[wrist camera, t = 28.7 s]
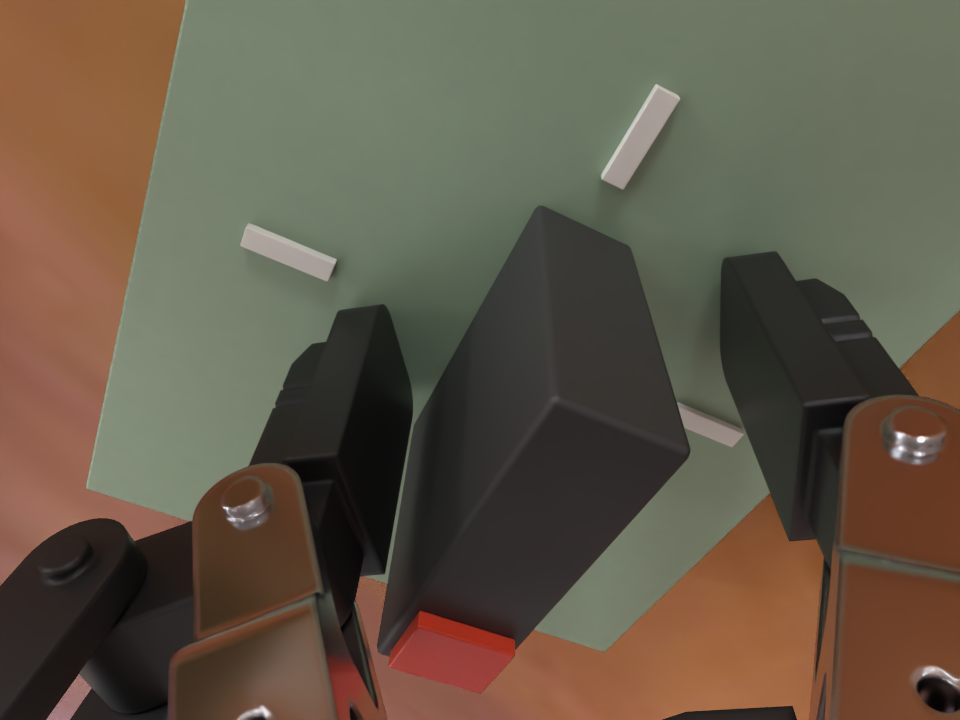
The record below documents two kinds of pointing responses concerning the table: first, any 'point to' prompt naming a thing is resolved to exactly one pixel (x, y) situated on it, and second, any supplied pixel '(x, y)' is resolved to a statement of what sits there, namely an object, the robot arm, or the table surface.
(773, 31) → the control panel
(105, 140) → the table surface
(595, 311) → the black block red tip
